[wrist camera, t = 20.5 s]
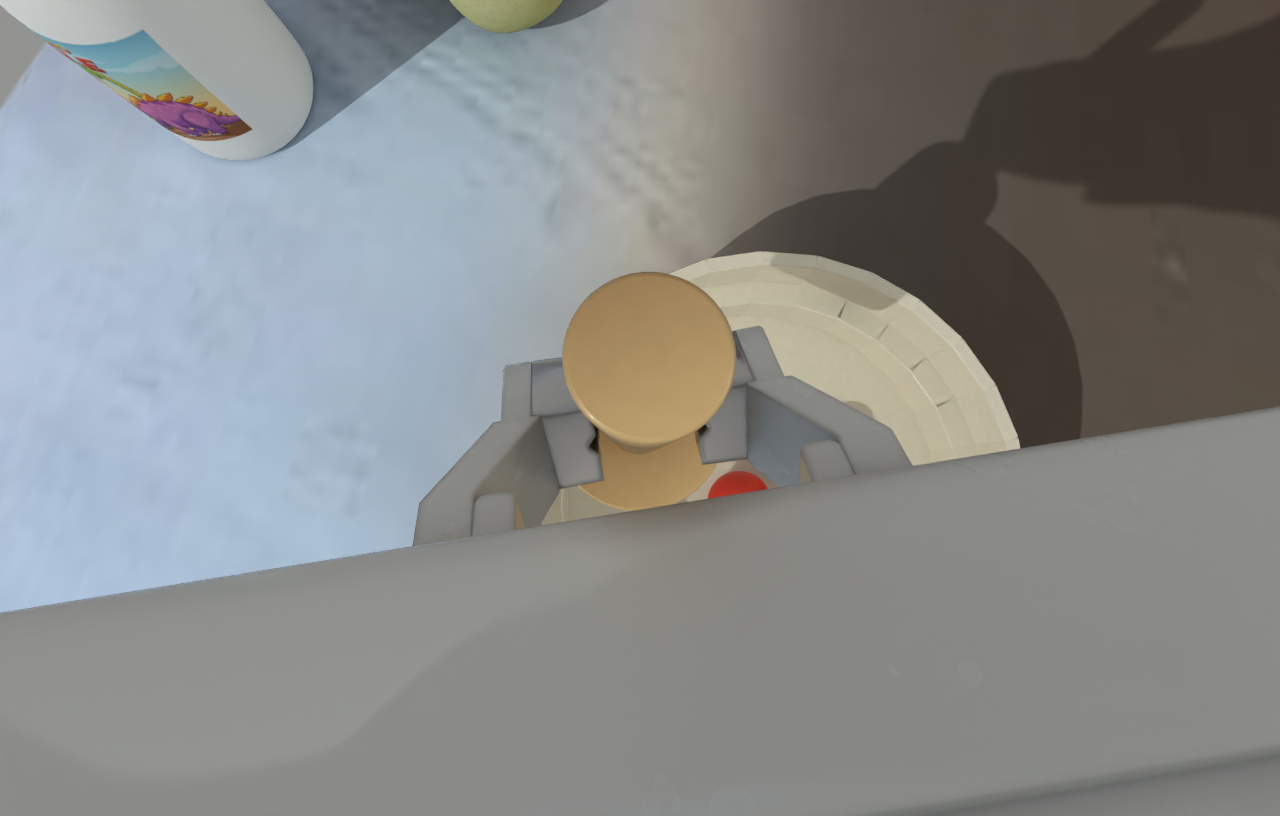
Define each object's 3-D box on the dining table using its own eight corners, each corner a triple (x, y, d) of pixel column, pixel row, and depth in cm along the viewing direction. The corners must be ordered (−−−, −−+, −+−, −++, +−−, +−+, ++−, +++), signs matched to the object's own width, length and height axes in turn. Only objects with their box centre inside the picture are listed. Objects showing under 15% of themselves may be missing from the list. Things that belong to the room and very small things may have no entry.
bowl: (1043, 552, 36) (1131, 572, 30) (694, 799, 35) (707, 874, 29) (800, 210, 38) (834, 157, 31) (457, 439, 37) (419, 434, 30)
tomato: (782, 539, 34) (786, 476, 33) (728, 546, 32) (731, 480, 32) (745, 521, 36) (748, 463, 36) (694, 527, 35) (697, 466, 35)
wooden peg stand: (750, 447, 22) (989, 421, 7) (616, 539, 22) (583, 705, 7) (659, 314, 23) (711, 31, 8) (526, 403, 22) (311, 292, 7)
